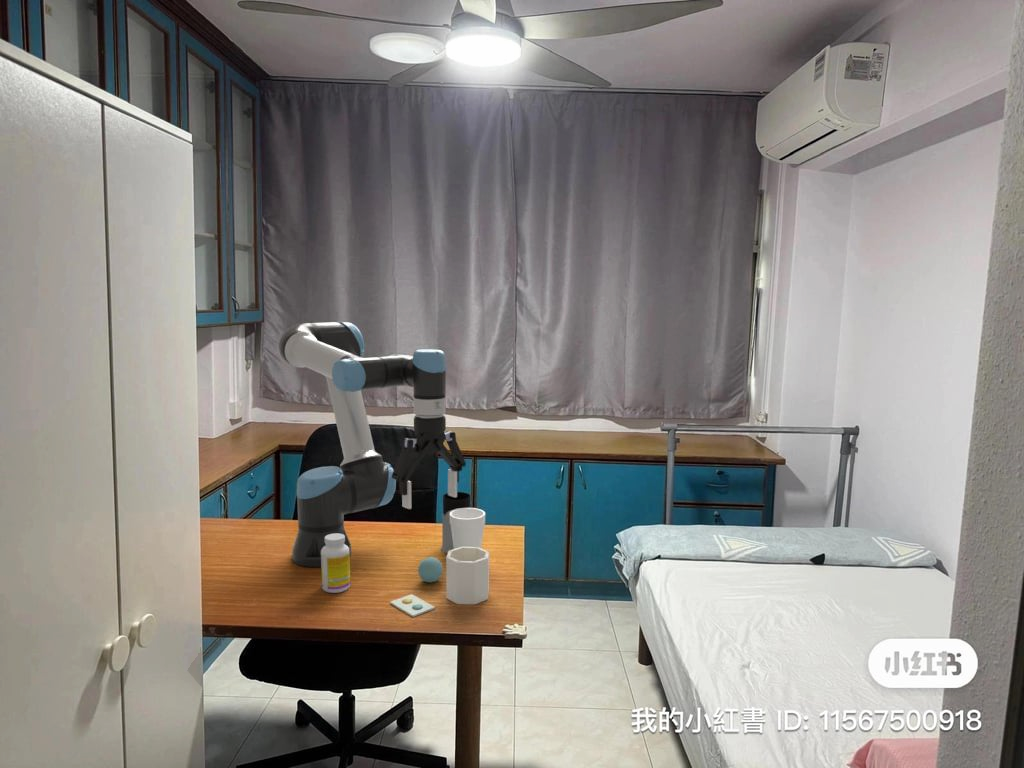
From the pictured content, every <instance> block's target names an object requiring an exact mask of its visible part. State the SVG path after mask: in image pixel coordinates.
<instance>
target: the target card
mask: <svg viewBox="0 0 1024 768" xmlns="http://www.w3.org/2000/svg"><path fill="white" fill-rule="evenodd" d="M389 604H391V605H393V606H394V607H395V608H397V609H399V610H401V611H402V612H404V613H405V614H407V615H409V616H411V617H413V618H414V617H417V616H420V615H423V614H425V613H427V612H430V611H434V610H435V609H436V607H435V606H434V605H432V604H430V603H428V602H426V600H423V599H422V598H420V597H418V596H416V595H414V594H412V593H411V594H408V595H405V596H402V597H400V598H396V599H394V600H391V601H390V602H389Z"/></svg>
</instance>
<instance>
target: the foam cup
mask: <svg viewBox="0 0 1024 768" xmlns="http://www.w3.org/2000/svg"><path fill="white" fill-rule="evenodd" d="M450 525H451V532H452V540H453V547H454V549H456V548H459V547H479V548H482V546H483V538H484V529H485V525H486V512H485V511H484V510H483V509H480V508H475V507H470V508H459V509H455V510H453V511H451V512H450Z"/></svg>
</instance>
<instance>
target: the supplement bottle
mask: <svg viewBox="0 0 1024 768" xmlns="http://www.w3.org/2000/svg"><path fill="white" fill-rule="evenodd" d="M344 542H345V535H343V534H339V533H334V534H329V535H327V536H325V544H326V546H324V547H323V548H322V550H321V567H320V569H321V571H320V572H321V588H322V590H323V591H324V592H326V593H330V594H337V593H342V592H346V591H347V590H348V589H349V588H350V587H351V561H350V560H351V559H350V558H351V556H350V552H349V547H348V546H347V545H345V544H344Z"/></svg>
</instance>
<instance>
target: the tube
mask: <svg viewBox="0 0 1024 768" xmlns="http://www.w3.org/2000/svg"><path fill="white" fill-rule="evenodd" d="M446 554H447V553H446ZM445 559H446V567H445V568H446V570H445V571H446V572H445V573H446V575H445V576H446V579H445V580H446V582H445V583H446V588H445V590H446V599H447V600H449V601H451V602H453V603H455V604H456V605H477V604H479V603H482V602H484V601H487V600H489V595H490V551H488V550H486V549H484V548H482V547H481V548H479V547H459V548H456V549H453V550H449V551H448V554H447V555H446V557H445Z"/></svg>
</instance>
